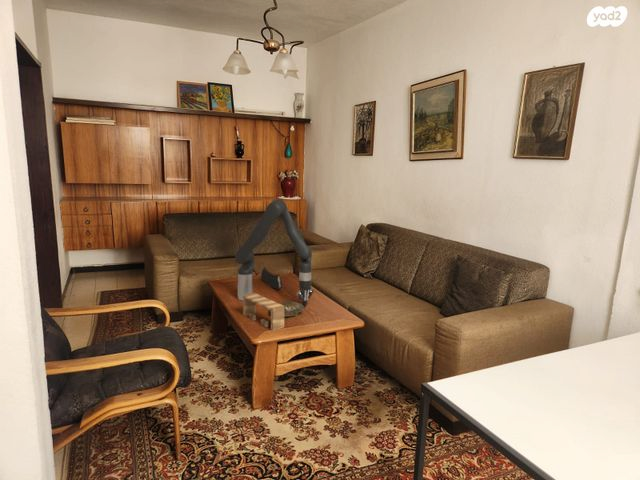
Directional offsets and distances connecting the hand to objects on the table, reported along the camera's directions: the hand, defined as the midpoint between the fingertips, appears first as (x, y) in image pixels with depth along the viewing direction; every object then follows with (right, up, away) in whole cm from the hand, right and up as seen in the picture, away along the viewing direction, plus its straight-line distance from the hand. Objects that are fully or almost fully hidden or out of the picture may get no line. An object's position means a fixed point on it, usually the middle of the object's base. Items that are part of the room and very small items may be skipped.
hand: (304, 305), depth 251 cm
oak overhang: (-23, -5, -21) cm, 31 cm away
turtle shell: (-11, -4, -9) cm, 14 cm away
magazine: (-26, +7, +45) cm, 52 cm away
